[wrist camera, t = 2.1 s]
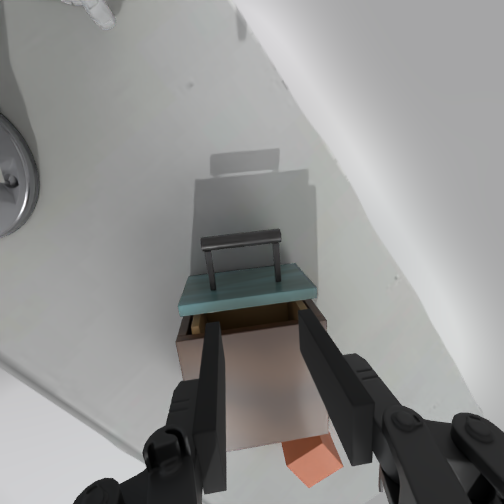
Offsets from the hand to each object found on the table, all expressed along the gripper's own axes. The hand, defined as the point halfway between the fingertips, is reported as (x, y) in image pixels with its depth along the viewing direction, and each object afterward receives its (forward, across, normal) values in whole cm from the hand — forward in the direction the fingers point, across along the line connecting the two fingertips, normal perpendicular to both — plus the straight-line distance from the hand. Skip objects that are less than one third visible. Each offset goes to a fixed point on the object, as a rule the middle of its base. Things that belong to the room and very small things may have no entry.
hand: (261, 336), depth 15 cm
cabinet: (+19, 0, -13) cm, 23 cm away
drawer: (+18, 0, -6) cm, 19 cm away
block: (+19, +7, -31) cm, 37 cm away
